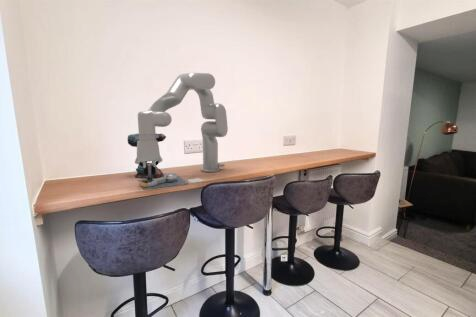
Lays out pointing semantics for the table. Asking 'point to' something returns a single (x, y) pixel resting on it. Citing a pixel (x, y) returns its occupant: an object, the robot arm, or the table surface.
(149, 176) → the key
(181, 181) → the board
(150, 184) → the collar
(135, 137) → the power drill
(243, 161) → the table surface
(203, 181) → the pad
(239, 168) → the table surface
